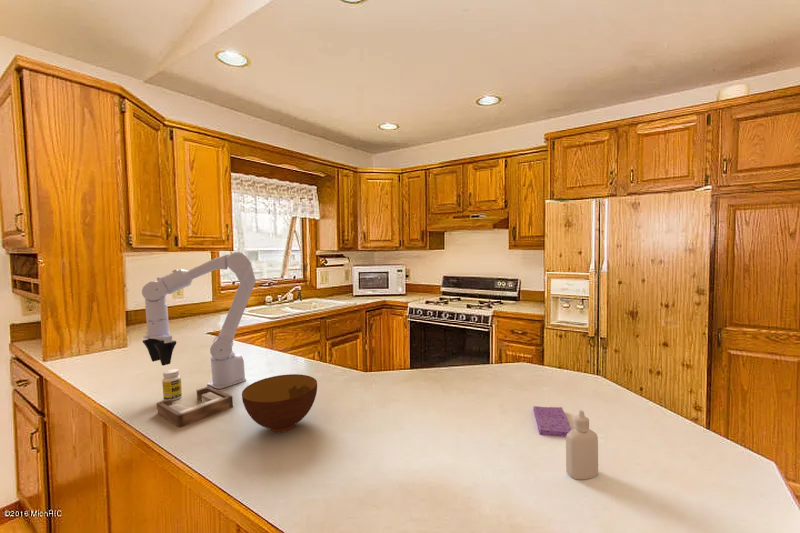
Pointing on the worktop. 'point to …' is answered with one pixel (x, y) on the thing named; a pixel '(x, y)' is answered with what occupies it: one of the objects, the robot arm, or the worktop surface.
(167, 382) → the supplement bottle
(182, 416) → the socket box
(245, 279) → the robot arm
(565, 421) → the sponges
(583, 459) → the eye dropper bottle
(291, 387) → the bowl
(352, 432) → the worktop surface
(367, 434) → the worktop surface
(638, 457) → the worktop surface
